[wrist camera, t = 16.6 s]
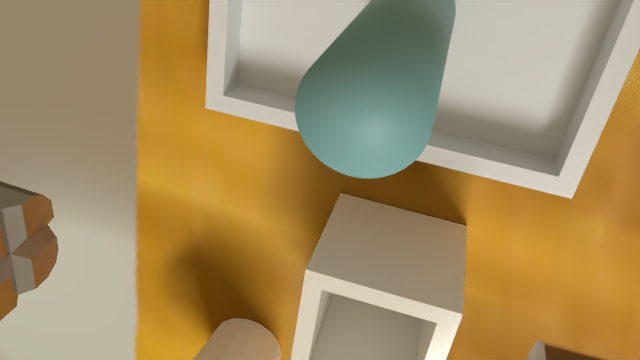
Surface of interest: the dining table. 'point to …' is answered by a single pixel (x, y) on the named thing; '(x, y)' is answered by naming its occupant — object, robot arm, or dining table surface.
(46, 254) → the robot arm
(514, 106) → the tray
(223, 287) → the dining table surface
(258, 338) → the tan cylinder
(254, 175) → the dining table surface
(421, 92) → the dowel
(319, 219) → the dining table surface
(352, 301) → the deep box
